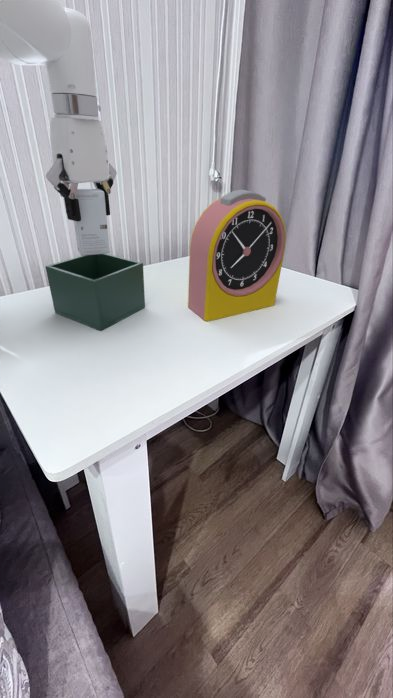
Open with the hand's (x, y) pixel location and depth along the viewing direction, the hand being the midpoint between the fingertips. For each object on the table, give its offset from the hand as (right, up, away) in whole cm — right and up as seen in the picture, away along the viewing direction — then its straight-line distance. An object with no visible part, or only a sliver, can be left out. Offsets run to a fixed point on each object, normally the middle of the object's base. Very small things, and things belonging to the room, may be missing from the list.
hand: (89, 216), depth 67 cm
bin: (-1, -18, +11) cm, 21 cm away
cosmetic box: (0, -6, +4) cm, 7 cm away
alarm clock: (+31, -16, +16) cm, 38 cm away
